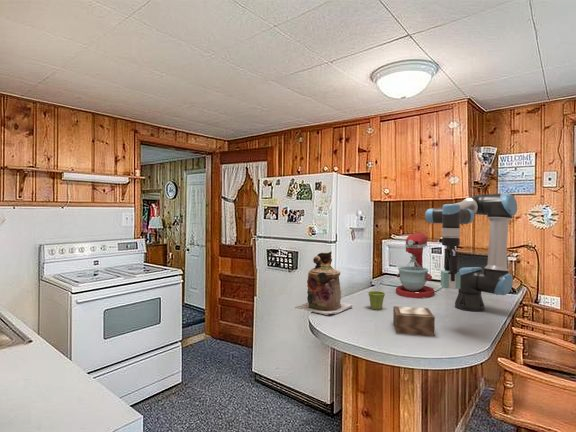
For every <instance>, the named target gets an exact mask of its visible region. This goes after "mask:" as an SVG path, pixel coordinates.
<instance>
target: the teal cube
mask: <svg viewBox="0 0 576 432" xmlns="http://www.w3.org/2000/svg"><path fill="white" fill-rule="evenodd" d="M448 272H450V271H445V270H440V286H441V287H442V288H443V289H450V288H449V274H448ZM451 289H454V290H455V289H456V290H457V289H458V290H459V289H460V273H459V271H457V273H456V288H451Z"/></svg>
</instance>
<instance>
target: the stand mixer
mask: <svg viewBox="0 0 576 432" xmlns="http://www.w3.org/2000/svg"><path fill="white" fill-rule="evenodd" d="M428 241H429V240H428V237H427V235H426V234H424V233H422V232H418V233H417V232H416V233H411V234H410V235H408V236H407V237H406V239H405V252H407V253H408V254H410V255H412V256H409V257H410V261H409V262H408V265H406V266H398V268H397V270H398V273H397V274H396V277H397V279H398V278H399V281H400V283H401V285H398V286H396V288H395V293H396V295H398V296H401V297H404V298H411V299H424V298H423V297H427V298H430V297H429V296H432V295H433V296H435V289H434V288H433V287H431V286H428V285H426V283H427V281H431V280H432V279H433V276H432V275H431V274H430V273H429V268H426V267H424V266H423V253H424V248H425V247H428ZM410 265H411V266H410ZM415 292H419V293H415ZM433 296H432V297H433Z"/></svg>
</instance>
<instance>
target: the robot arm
mask: <svg viewBox="0 0 576 432" xmlns="http://www.w3.org/2000/svg"><path fill="white" fill-rule="evenodd" d="M517 211H518V203H517V200H516V197H515V196H514V195H513V194H510V193H484V194H483V193H482V194H477V195H475V196H471V197H467V198H465V199H463V200H462V201H460V202H456V203H446V204H443V205H442V207H437V208H433V207H432V208H428V209H426V210H425V213H424V216H425V217H424V219H425V221H426V222H427V223H429V224H441V225H442V227H441V230H440V232H441V236H442V238H441V245H442V246H444V247H446V248H444V262H443V263H444V264H443V265H444V266H443V270H444V271H450V272H448V274H449V288H448V289H452V288H456V273H457V272H459V273H460V289H458V293H457V296H456V299H455V301H454V307H455V308H457V309H459V310H461V311H469V312H484V311H485V309H486V308H485V307H486V306H485V302H484V300H483V297H482V292H483V293H487V294H491V295H492V294H493V295H497V296H499V295H500V296H506V295H508V294H509V293H510V291H511V289H512V287H513V285H514V284H513V283H514V278H513V275H512V274H511V273H510V270H509V268H507V250H508V249H507V248H508V232H509V222H510V221H512V219H513V216H516V215H517ZM475 215H476V216H477V215H480V216H481V215H483V216H486V217H487V219H488V220H489V236H488V237H489V238H488V251H487V252H488V253H487V254H488V255H487V265H486V266H484V268H483V269H482V267H480V266H471V267H470V266H469V267H461V268H460V269H459V270H458V251H457V250H456V248H455V247H459V246H460V241H461V240H460V236H461V225H468V224H472V222H473V221H474V220H475Z"/></svg>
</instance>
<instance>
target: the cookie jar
mask: <svg viewBox="0 0 576 432" xmlns="http://www.w3.org/2000/svg"><path fill="white" fill-rule="evenodd" d="M312 262H313V263H314V264H315V266H314V267H313V268H311V269H310V270H308V273H307V281H306V283H307V286H306V287H307V292H306V293H307V302H305V303H304V304H301V305H296V306H294V308H295V309H298V310H305V311H307V312H311V313H316V314H321V315H324V316H329V315H337V314H339V313H341V312H343V311H344V312H345V311H346V310H349V309H352V307H353V306H354V304H353V303H344V302H341V299H342V295H341V294H342V291H341V281H340V276H341V271H340V270H338V269H335V268H334V267H332V266H331V264H332V262H333V259H332V251H328V252H320V253H318V254H317V255H316V256H314V257H313V260H312Z"/></svg>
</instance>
